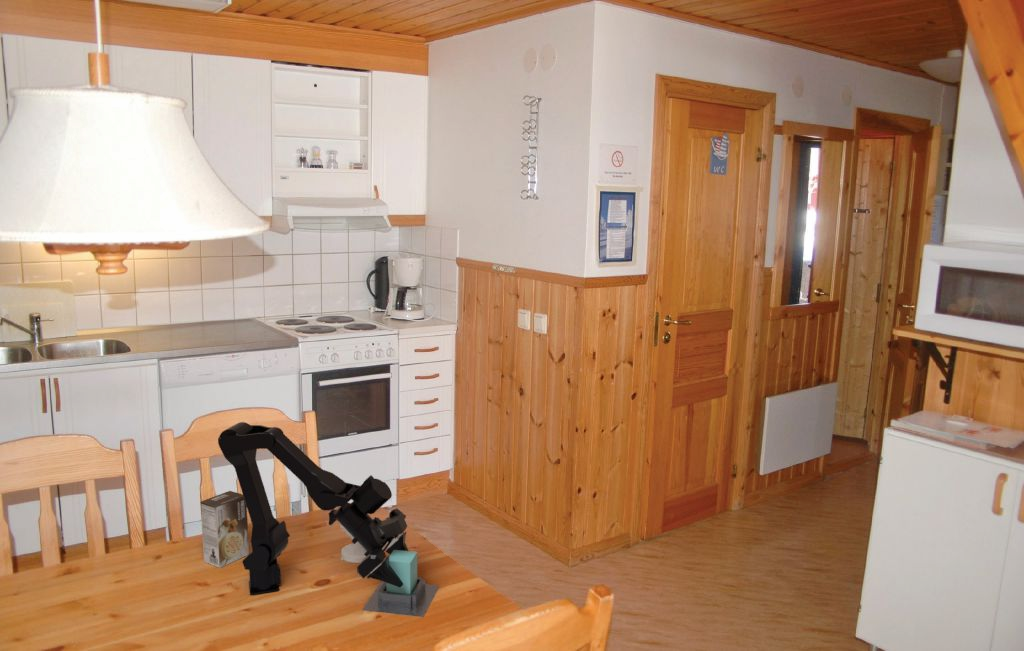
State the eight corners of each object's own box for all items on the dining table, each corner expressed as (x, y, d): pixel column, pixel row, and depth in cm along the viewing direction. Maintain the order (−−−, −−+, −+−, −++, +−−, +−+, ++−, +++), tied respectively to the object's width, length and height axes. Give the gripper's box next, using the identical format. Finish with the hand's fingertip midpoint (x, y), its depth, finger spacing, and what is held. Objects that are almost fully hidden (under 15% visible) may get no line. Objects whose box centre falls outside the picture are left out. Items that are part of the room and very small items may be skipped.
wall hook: (356, 512, 204) (382, 522, 199) (356, 547, 206) (383, 558, 200) (330, 523, 198) (357, 533, 192) (330, 558, 199) (357, 570, 193)
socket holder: (361, 615, 173) (361, 597, 172) (382, 584, 187) (382, 567, 186) (423, 622, 171) (423, 604, 170) (439, 590, 184) (439, 573, 184)
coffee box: (233, 548, 204) (230, 489, 201) (249, 554, 200) (247, 495, 198) (202, 562, 196) (199, 500, 193) (219, 569, 193) (216, 506, 190)
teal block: (386, 602, 176) (386, 560, 175) (394, 590, 182) (393, 549, 180) (410, 604, 175) (410, 562, 174) (417, 592, 181) (417, 551, 179)
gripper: (370, 520, 166) (421, 574, 166) (397, 488, 185) (443, 537, 185) (335, 551, 169) (385, 604, 169) (365, 517, 187) (410, 565, 187)
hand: (407, 576), depth 177 cm, fingers open, 9 cm apart
